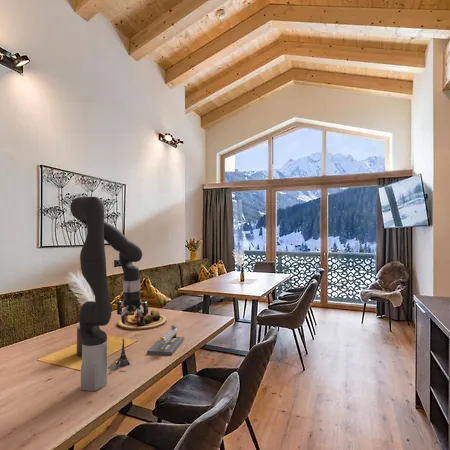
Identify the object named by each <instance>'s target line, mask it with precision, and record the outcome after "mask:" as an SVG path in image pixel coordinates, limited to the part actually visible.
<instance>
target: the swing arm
mask: <svg viewBox="0 0 450 450" xmlns="http://www.w3.org/2000/svg"><path fill="white" fill-rule="evenodd" d="M177 333H178V327H177V325H176V324H172V325H171V327H169V329H167V330H166V332H164V333H163V335H161V337H159V339H157V341H158V344H166V343H167V342H168V341H169V340H170V339H171V338H176V337H177Z"/></svg>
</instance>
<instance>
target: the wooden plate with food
mask: <svg viewBox="0 0 450 450" xmlns="http://www.w3.org/2000/svg"><path fill="white" fill-rule="evenodd" d="M125 315H126V323H125V324H123V323H122V321H121V318H120V319H119V320H118V321H117V326H118V327H119V328H121V329H123V330H127V331H145V330H152V329H156V328H159V327H162V326H164V325H166V323H167V317H166V316H164V315H163V314H160V311H159V310H158V309H157V308H154V307H153V308H152V310H150V312H148V314H147V315H146V316H144V323H143V324H142V325H140V315H139V314H138V313H137V312H136V313H135V312H133V311H127V312H126V314H125Z"/></svg>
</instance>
